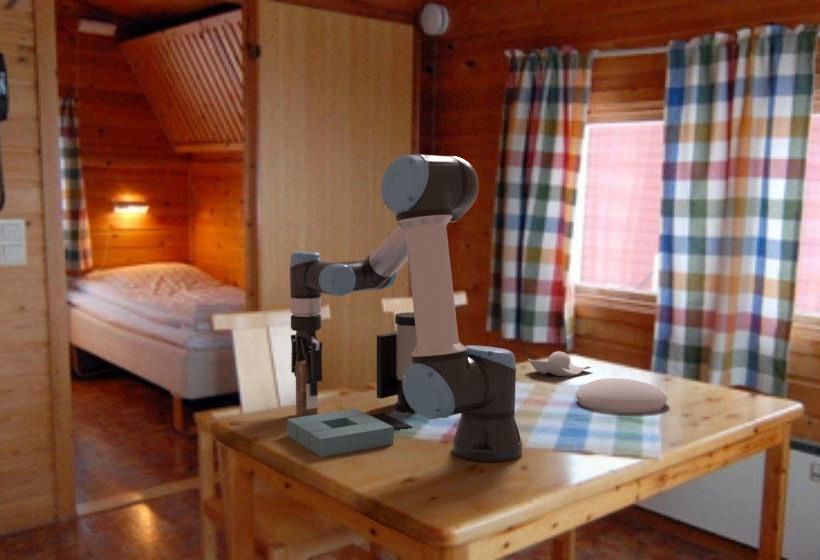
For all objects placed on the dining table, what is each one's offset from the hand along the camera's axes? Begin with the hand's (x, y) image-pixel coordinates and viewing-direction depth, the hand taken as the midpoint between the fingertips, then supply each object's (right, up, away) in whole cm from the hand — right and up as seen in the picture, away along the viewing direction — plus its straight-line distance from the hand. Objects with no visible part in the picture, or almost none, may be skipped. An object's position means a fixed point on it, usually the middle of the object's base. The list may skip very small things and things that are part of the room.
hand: (306, 404), depth 211 cm
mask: (+72, +2, +50) cm, 88 cm away
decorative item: (+82, -2, +14) cm, 83 cm away
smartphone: (+20, -4, -5) cm, 21 cm away
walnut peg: (0, -3, 0) cm, 3 cm away
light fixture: (+25, -2, +9) cm, 27 cm away
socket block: (+10, -5, -19) cm, 22 cm away
